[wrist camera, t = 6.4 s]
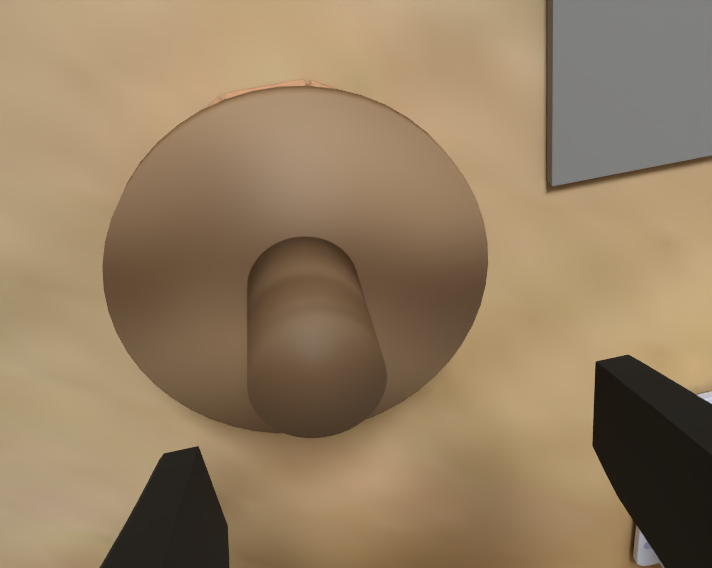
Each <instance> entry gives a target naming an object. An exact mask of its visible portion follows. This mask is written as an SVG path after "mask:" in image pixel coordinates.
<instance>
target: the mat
mask: <svg viewBox="0 0 712 568" xmlns="http://www.w3.org/2000/svg"><path fill="white" fill-rule="evenodd" d="M711 155H712V0H547V182H548V183H549V184H550V185H551V186H557V185H562V184H567V183H572V182H577V181H583V180H588V179H593V178H598V177H603V176H608V175H613V174H619V173H624V172H629V171H634V170H639V169H644V168H650V167H655V166H660V165H665V164H670V163H675V162H680V161H686V160H691V159H696V158H701V157H706V156H711Z"/></svg>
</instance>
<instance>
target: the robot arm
mask: <svg viewBox="0 0 712 568" xmlns="http://www.w3.org/2000/svg"><path fill="white" fill-rule="evenodd" d="M593 448H594V450H595V452H596V454H597V456H598V458H599V460H600V462H601V464H602V466H603V469H604V471H605V473H606V475H607V477H608V479H609V481H610V482H611V484H612V486H613V488H614V490H615V492H616V494H617V496H618V498H619V499H620V501H621V502H622V504H623V505H624V507H625V508H626V510H627V512H628V513H629V515H630V516H631V518H632V519H633V521H634V522H635V524H636V532H635V542H634V552H633V557H634V559H635V561H636V563H637V564H638V565H640V566H649V565H653V564H658V563H659V564H660V565H661V567H662V568H712V391H711V392H706V393H702V394H697V395H696V394H694V393H692V392H691V391H689V390H687V389H686V388H684V387H682V386H681V385H679V384H677V383H676V382H674V381H672V380H671V379H669V378H667V377H666V376H664V375H662V374H661V373H659V372H657V371H656V370H654V369H652V368H651V367H649V366H647V365H646V364H644V363H642V362H640V361H639V360H637V359H635V358H633V357H632V356H630V355H624V356H620V357H615V358H610V359H606V360H601V361H596V366H595V392H594V419H593ZM100 568H229V546H228V525H227V523H226V520H225V517H224V515H223V512H222V509H221V506H220V504H219V501H218V498H217V495H216V493H215V490H214V487H213V485H212V482H211V479H210V476H209V474H208V471H207V468H206V466H205V463H204V460H203V457H202V455H201V452H200V449H199V446H197V447H193V448H188V449H183V450H178V451H174V452H169V453H164V454H163V456H162V457H161V458H160V460H159V462H158V463H157V465H156V467H155V469H154V471H153V473H152V475H151V477H150V479H149V481H148V483H147V485H146V486H145V488H144V490H143V492H142V494H141V496H140V498H139V500H138V502H137V503H136V505H135V507H134V509H133V511H132V513H131V514H130V516H129V518H128V520H127V522H126V523H125V525H124V527H123V529H122V530H121V532H120V534H119V536H118V537H117V539H116V541H115V542H114V544H113V546H112V548H111V549H110V551H109V553H108V555H107V556H106V558H105V560H104V561H103V563H102V565H101V566H100Z"/></svg>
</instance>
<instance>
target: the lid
mask: <svg viewBox="0 0 712 568" xmlns="http://www.w3.org/2000/svg"><path fill="white" fill-rule="evenodd" d="M487 268H488V250H487V238H486V232H485V227H484V221H483V218H482V215H481V212H480V209H479V206H478V203H477V200H476V198H475V196H474V194H473V192H472V190H471V188H470V186H469V184H468V183H467V181H466V179H465V177H464V176H463V175H462V173H461V172H460V170H459V169H458V168H457V166H456V165H455V163H454V162H453V161H452V159H451V158H450V157H449V156H448V155H447V153H446V152H445V151H444V150H443V149H442V148H441V147H440V146H439V145H438V144H437V143H436V141H435V140H434V139H433V138H432V137H431V136H430V135H429V134H428V133H427V132H426V131H424V130H423V129H422V128H420V127H419V126H418V125H416V124H415V123H414V122H413V121H411V120H410V119H409V118H407V117H406V116H404V115H402V114H400V113H399V112H397V111H395V110H393V109H392V108H390V107H388V106H386V105H384V104H382V103H379V102H377V101H374V100H372V99H369V98H367V97H364V96H362V95H358V94H354V93H350V92H346V91H342V90H338V89H333V88H324V87H314V86H281V87H274V88H268V89H261V90H255V91H251V92H247V93H244V94H241V95H237V96H234V97H231V98H228V99H225V100H222V101H220V102H218V103H216V104H214V105H212V106H209V107H207V108H205V109H203V110H201V111H199V112H198V113H196V114H194V115H193V116H191V117H190V118H188V119H187V120H185V121H183V122H182V123H180V124H179V125H177V126H176V127H175V128H174V129H173V130H172V131H170V132H169V133H168V134H167V135H166V136H165V137H163V138H162V139H161V140H160V141H159V142H158V143H157V144H156V145H155V146H154V147H153V148H152V149H151V151H150V152H149V153H148V154H147V155H146V156H145V158H144V159H143V160H142V161H141V162H140V164H139V165H138V167H137V168H136V170H135V172H134V173H133V175H132V176H131V178H130V179H129V181H128V183H127V185H126V187H125V189H124V191H123V194H122V196H121V198H120V200H119V203H118V205H117V207H116V209H115V212H114V214H113V216H112V218H111V222H110V226H109V230H108V233H107V237H106V241H105V248H104V258H103V283H104V292H105V297H106V302H107V306H108V311H109V314H110V317H111V319H112V322H113V325H114V327H115V330H116V333H117V334H118V336H119V338H120V340H121V342H122V343H123V345H124V347H125V349H126V351H127V352H128V354H129V355H130V356H131V358H132V359H133V360H134V362H135V363H136V364H137V366H138V367H139V368H140V370H141V371H142V372H143V373H144V374H145V375H146V376H147V377H148V378H149V379H150V380H151V381H152V382H153V383H154V384H155V385H156V386H158V387H159V388H160V389H161V390H163V391H164V392H165V393H166V394H168V395H169V396H170V397H172V398H173V399H174V400H176V401H178V402H179V403H181V404H183V405H184V406H186V407H188V408H189V409H191V410H193V411H195V412H197V413H199V414H201V415H204V416H206V417H208V418H210V419H213V420H216V421H219V422H222V423H225V424H228V425H231V426H234V427H239V428H244V429H248V430H253V431H261V432H270V433H285V434H288V435H292V436H296V437H304V438H319V437H327V436H332V435H335V434H339V433H342V432H344V431H347V430H349V429H351V428H353V427H354V426H356V425H358V424H359V423H361V422H362V421H364V420H365V419H368V418H370V417H373V416H375V415H377V414H380V413H382V412H384V411H386V410H388V409H390V408H391V407H393V406H395V405H397V404H399V403H401V402H402V401H404V400H405V399H407V398H408V397H410V396H411V395H412V394H414V393H415V392H417V391H418V390H420V389H421V388H422V387H423V386H424V385H425V384H427V383H428V382H429V381H430V380H431V379H432V378H434V377H435V376H436V375H437V374H438V373H439V371H440V370H441V369H442V368H443V367H444V366H445V365H446V364H447V363H448V362H449V361H450V359H451V358H452V357H453V355H454V354H455V353H456V351H457V350H458V348H459V347H460V346H461V344H462V343H463V341H464V339H465V337H466V336H467V334H468V332H469V330H470V329H471V327H472V325H473V322H474V320H475V317H476V315H477V313H478V310H479V308H480V305H481V301H482V297H483V293H484V289H485V285H486V277H487Z"/></svg>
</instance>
